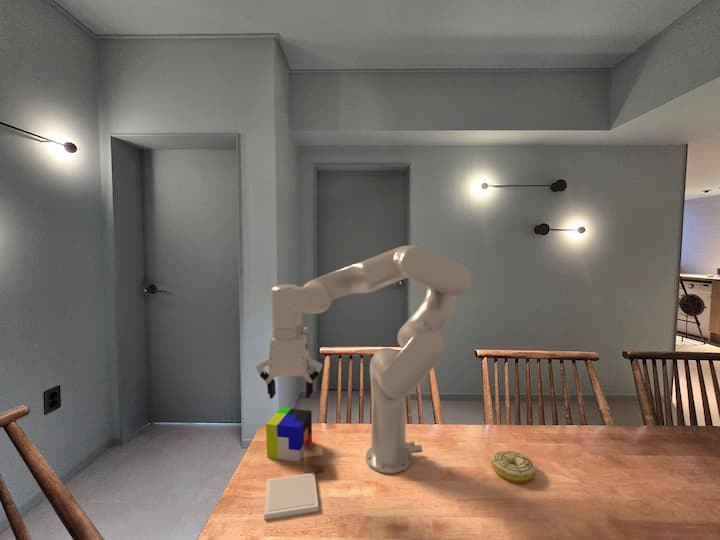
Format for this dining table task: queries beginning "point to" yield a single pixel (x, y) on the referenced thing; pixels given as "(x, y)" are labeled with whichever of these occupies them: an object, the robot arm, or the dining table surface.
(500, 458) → the decorated donut
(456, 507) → the dining table surface
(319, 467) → the walnut cube
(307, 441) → the puzzle toy
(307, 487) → the plate
